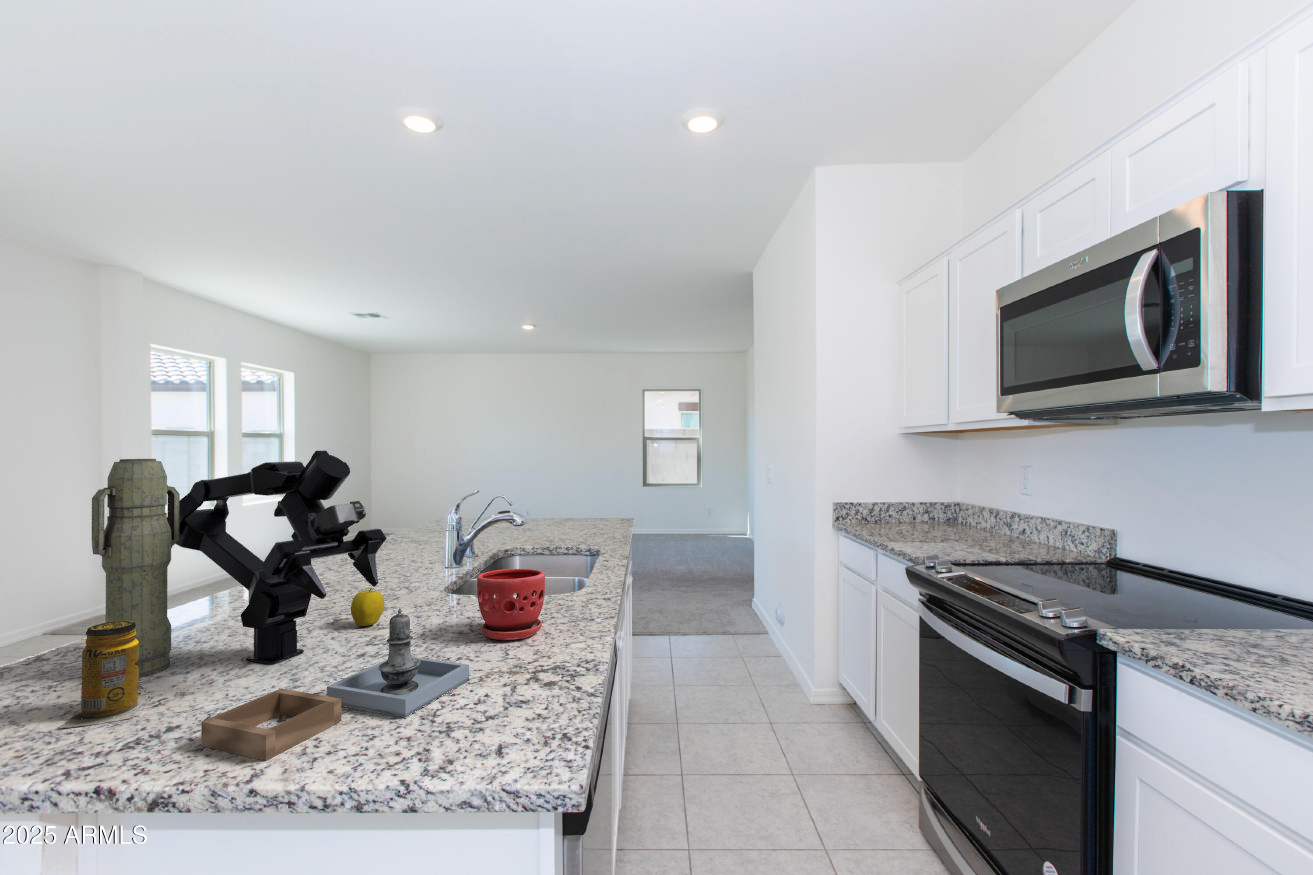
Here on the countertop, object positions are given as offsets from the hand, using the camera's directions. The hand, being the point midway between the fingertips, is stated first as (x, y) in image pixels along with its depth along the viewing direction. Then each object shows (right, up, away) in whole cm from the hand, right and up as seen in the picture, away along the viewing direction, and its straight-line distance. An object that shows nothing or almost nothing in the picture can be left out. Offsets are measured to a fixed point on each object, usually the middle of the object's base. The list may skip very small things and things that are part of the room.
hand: (351, 590), depth 99 cm
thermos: (-37, -14, +2) cm, 39 cm away
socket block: (0, -13, -20) cm, 24 cm away
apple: (-10, -14, +27) cm, 32 cm away
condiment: (-27, -14, -14) cm, 34 cm away
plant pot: (+21, -14, +21) cm, 33 cm away
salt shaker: (+11, -13, -7) cm, 18 cm away
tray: (+11, -13, -7) cm, 19 cm away
